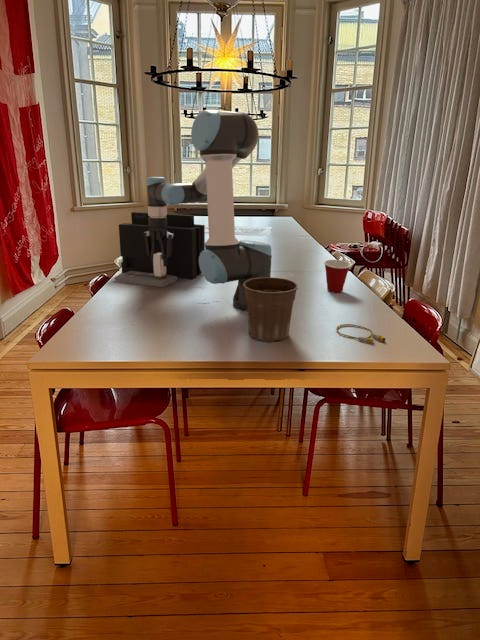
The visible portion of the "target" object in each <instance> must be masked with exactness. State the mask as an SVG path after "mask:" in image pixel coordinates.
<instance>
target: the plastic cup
mask: <svg viewBox="0 0 480 640" xmlns="http://www.w3.org/2000/svg"><path fill="white" fill-rule="evenodd" d="M323 264H324V268H325V269H324V270H325V277H326V278H325V280H326V287H327V288H326V289H327V292H328V293H332V294H341V293H342V292H343V290H344V286H345V283H346V279H347V276H348V273H349V270H350V268H351V267H352V264H351V262H348V261H345V260H340V259H327V260H324V261H323Z"/></svg>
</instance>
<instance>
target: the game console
mask: <svg viewBox="0 0 480 640" xmlns="http://www.w3.org/2000/svg"><path fill="white" fill-rule="evenodd" d="M130 215H131V216H130V217H131V223H127V222H123V223H119V224H118V234H119V235H118V237H119V249H120V250H119V251H120V252H119V253H120V257H121V258H122V262H121V263H120V264H121V274H124V273H126V272H129V271H137V272H145V273H154V267H153V265H152V259H151V257H150V256H147V251H146V243H145V237H144V235H143V233H144V232H147V231H148V230H149V220H148V218H149V217H150V216H148V211H132V212H130ZM166 217H167V229H168V232H169V233H171V234H174V237H173V241H172V256H171V257H169V258H168V265H167V266H166V274H167V275H172V276H177V279H179V278H181V279H180V280H190V281H193V279H194V280H196V279H197V277H198V276H201V275H202V273H201V270H200V267H199V256H200V253H201V252H202V251H203V250H205V243H206V240H205V238H206V236H205V235H206V233H205V231H206V230H205V226H206V225H205V224H197V223H196V224H195V214H181V213H167V216H166ZM150 238H151V246H152V236H151V235H150ZM165 238H166V248H167V235H166V237H165ZM158 252H161V253H162V251H161V245H160V242H159V240H158V242H157V253H158Z"/></svg>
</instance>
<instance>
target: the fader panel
mask: <svg viewBox="0 0 480 640" xmlns="http://www.w3.org/2000/svg"><path fill="white" fill-rule="evenodd" d="M114 280H115V282H116V283H123V284H124V283H126V284H131V285H132V284H133V285H141V286H148V285H149V287H156V286H157V287H158V288H164V287H165V288H166V287H167V286H169V285H171V284H173V283H175V282H177V281H176V280H178V278H177V276H172V275H167V276H165V277H163V278H161V279H158V278H154V273H145V272H137V271H129V272H126V273H121V274H118V275H117V276H114ZM174 281H175V282H174ZM172 282H173V283H172Z"/></svg>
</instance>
